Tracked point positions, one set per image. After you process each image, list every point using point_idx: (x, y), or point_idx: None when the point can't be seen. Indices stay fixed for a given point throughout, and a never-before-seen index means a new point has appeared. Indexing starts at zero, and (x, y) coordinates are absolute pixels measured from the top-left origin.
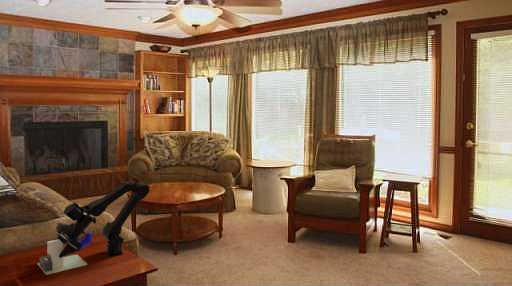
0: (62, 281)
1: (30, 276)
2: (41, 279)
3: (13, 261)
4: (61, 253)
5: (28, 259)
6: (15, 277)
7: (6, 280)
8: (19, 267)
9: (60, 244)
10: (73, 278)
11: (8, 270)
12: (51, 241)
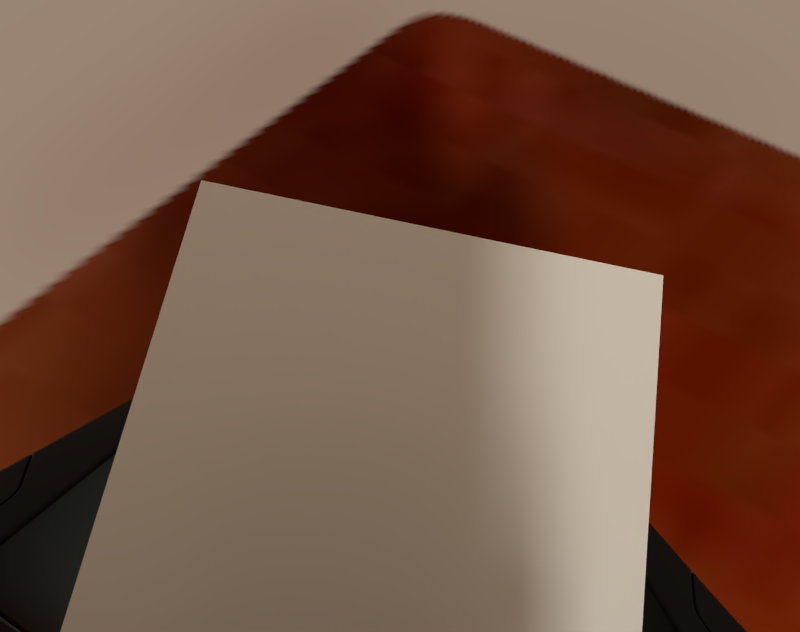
0: (54, 282)
1: (373, 153)
2: (247, 183)
3: (755, 199)
4: (126, 404)
5: (725, 303)
6: (441, 75)
7: (438, 16)
8: (605, 177)
9: (113, 499)
10: (17, 387)
11: (603, 99)
12: (595, 386)
